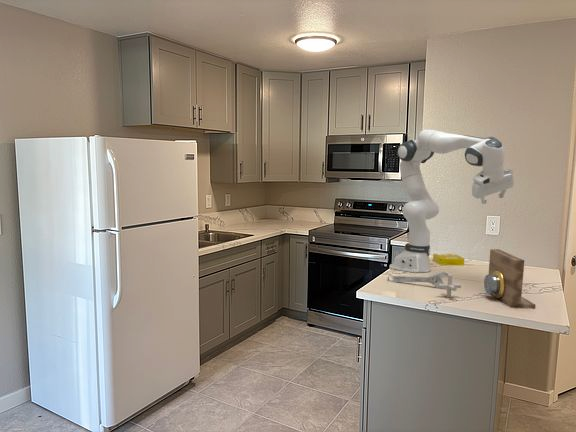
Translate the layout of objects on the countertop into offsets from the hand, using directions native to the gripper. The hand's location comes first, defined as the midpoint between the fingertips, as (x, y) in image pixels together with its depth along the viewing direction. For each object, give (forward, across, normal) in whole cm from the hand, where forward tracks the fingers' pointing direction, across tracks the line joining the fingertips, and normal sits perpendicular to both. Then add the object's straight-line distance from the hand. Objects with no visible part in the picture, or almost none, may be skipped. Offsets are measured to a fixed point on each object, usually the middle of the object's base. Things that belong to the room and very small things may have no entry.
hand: (492, 200), depth 211 cm
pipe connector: (+24, +41, +25) cm, 54 cm away
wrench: (+30, +45, +6) cm, 54 cm away
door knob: (+28, +23, +31) cm, 47 cm away
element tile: (+58, +4, -35) cm, 68 cm away
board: (+30, +16, +33) cm, 47 cm away
